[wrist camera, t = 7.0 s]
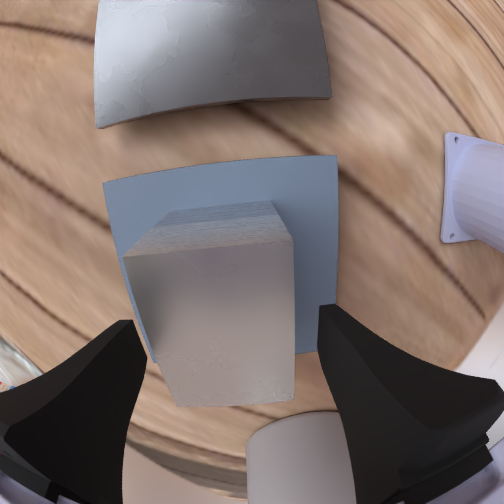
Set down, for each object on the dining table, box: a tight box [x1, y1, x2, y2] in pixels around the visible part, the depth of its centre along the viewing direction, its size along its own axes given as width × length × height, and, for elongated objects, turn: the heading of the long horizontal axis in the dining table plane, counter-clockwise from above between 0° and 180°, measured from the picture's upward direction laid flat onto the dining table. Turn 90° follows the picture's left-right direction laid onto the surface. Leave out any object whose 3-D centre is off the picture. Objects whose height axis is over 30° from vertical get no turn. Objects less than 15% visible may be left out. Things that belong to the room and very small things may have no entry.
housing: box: [122, 200, 295, 407], centre depth 12 cm, size 5×7×6 cm
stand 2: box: [103, 155, 339, 363], centre depth 15 cm, size 12×12×2 cm
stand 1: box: [94, 0, 332, 129], centre depth 10 cm, size 12×12×2 cm
